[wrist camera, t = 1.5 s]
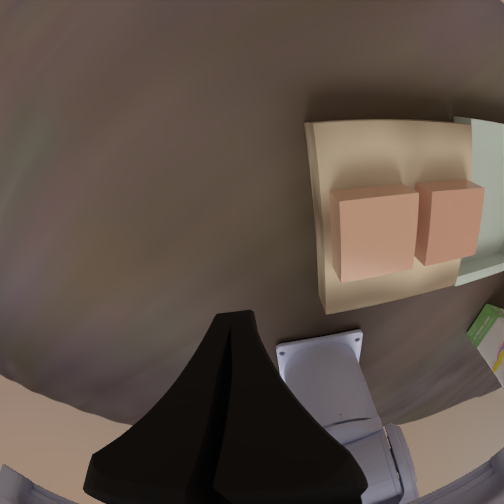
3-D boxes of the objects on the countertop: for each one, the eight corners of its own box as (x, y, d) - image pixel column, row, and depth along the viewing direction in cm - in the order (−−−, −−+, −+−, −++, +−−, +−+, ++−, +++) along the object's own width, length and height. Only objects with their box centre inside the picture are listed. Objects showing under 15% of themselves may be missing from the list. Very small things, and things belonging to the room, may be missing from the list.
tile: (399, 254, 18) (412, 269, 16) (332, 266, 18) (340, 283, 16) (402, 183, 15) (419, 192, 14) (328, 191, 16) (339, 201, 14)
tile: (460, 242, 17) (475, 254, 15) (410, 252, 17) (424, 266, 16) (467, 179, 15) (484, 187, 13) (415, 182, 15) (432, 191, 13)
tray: (501, 257, 21) (513, 267, 19) (442, 273, 21) (454, 286, 19) (514, 126, 15) (530, 130, 13) (453, 116, 15) (471, 118, 13)
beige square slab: (441, 269, 21) (455, 284, 19) (318, 295, 22) (325, 314, 20) (451, 122, 15) (471, 125, 13) (303, 122, 16) (312, 123, 14)
